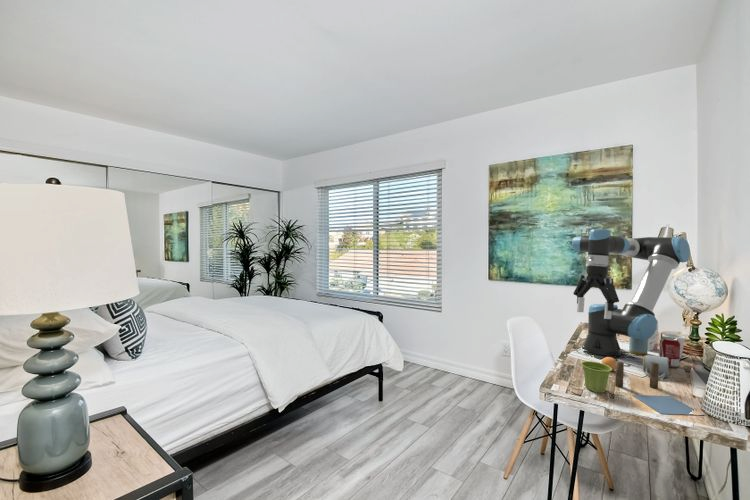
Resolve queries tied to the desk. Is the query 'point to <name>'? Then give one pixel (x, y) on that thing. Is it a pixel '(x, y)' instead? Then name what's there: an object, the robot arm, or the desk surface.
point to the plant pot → (596, 375)
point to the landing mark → (665, 404)
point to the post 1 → (619, 374)
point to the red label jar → (680, 340)
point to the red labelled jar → (670, 350)
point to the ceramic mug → (662, 363)
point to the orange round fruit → (609, 362)
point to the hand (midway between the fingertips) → (593, 315)
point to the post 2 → (654, 375)
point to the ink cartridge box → (653, 340)
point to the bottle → (638, 346)
